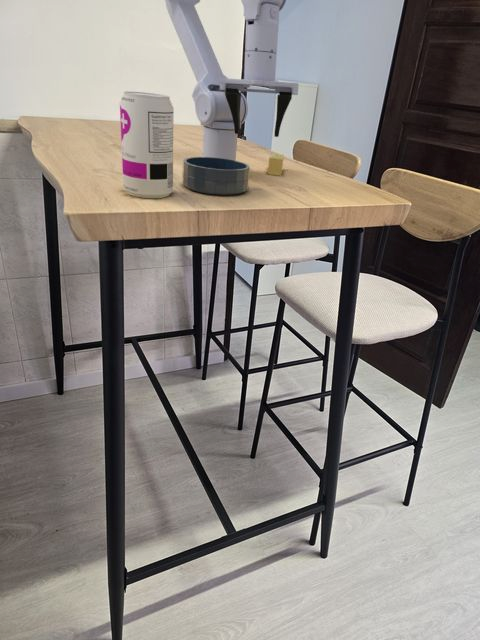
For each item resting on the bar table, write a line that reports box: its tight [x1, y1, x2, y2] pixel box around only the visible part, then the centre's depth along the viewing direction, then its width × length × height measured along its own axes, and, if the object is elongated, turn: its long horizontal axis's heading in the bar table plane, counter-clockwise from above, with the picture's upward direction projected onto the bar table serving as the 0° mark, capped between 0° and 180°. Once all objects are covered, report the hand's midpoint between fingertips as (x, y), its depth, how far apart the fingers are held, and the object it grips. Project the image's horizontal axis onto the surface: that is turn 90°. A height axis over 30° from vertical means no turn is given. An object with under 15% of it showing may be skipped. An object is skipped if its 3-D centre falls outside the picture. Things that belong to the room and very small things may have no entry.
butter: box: [267, 153, 285, 177], centre depth 109 cm, size 7×3×4 cm, turn 175°
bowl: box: [181, 156, 251, 196], centre depth 89 cm, size 12×12×4 cm
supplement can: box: [119, 90, 174, 199], centre depth 77 cm, size 8×8×15 cm
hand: (256, 135), depth 92 cm, fingers open, 7 cm apart
